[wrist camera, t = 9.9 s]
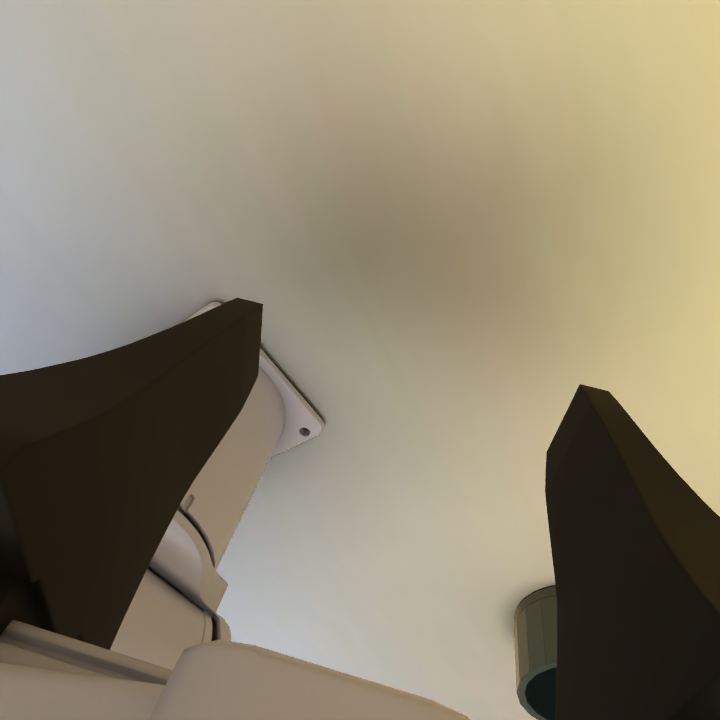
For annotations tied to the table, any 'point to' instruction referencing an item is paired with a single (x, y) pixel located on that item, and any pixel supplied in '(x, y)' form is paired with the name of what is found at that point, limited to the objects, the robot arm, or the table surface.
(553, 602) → the tumbler
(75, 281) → the table surface
